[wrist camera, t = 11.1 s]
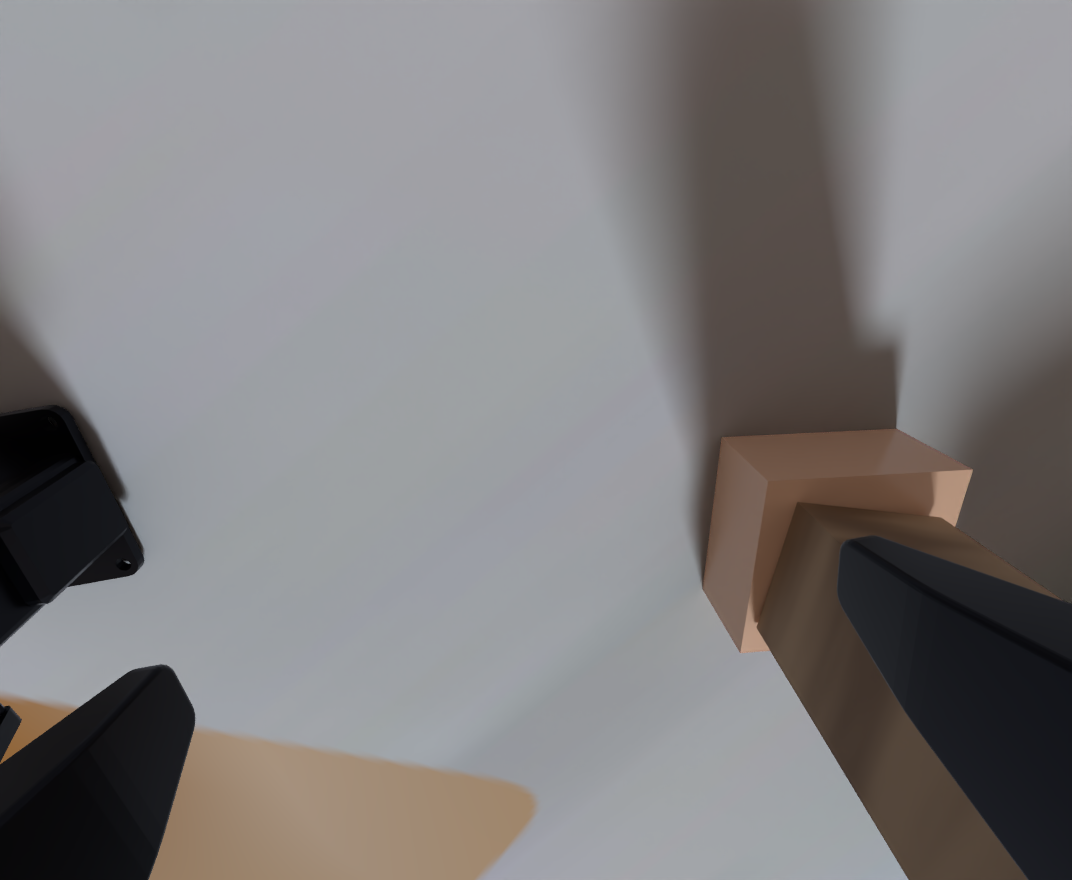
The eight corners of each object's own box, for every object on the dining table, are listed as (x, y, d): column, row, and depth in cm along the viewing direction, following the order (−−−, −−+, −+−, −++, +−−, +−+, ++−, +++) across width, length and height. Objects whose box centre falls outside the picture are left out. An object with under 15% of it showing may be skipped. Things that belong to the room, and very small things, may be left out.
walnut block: (756, 627, 20) (1123, 1235, 8) (797, 501, 18) (1343, 1032, 6) (888, 639, 21) (1429, 1234, 8) (941, 517, 19) (1714, 1044, 7)
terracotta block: (700, 585, 24) (740, 653, 21) (718, 434, 22) (767, 481, 18) (855, 574, 25) (920, 638, 21) (891, 425, 22) (973, 469, 19)
